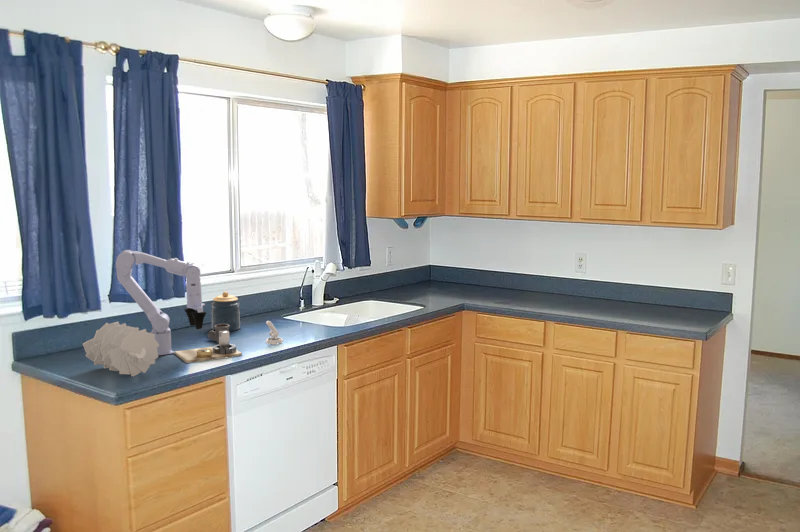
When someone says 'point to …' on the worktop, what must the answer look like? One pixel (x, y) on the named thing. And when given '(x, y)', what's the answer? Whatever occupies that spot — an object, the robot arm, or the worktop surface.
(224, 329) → the pipe
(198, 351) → the plug small
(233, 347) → the socket large
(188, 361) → the fitting board
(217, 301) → the canister
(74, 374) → the worktop surface
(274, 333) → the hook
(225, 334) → the pipe stub
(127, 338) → the spiral staircase
